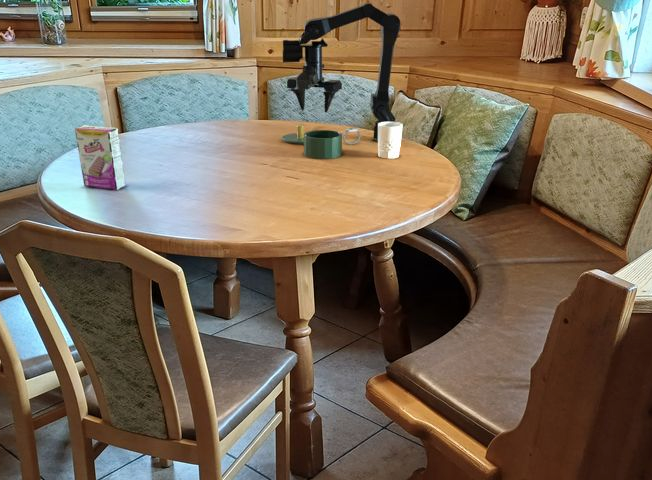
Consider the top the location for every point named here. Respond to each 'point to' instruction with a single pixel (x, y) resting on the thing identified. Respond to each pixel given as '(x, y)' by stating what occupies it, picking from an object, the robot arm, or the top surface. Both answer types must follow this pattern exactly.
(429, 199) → the top surface
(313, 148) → the tin
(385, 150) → the white cup
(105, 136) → the candy bar box
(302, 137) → the tin lid
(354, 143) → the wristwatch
